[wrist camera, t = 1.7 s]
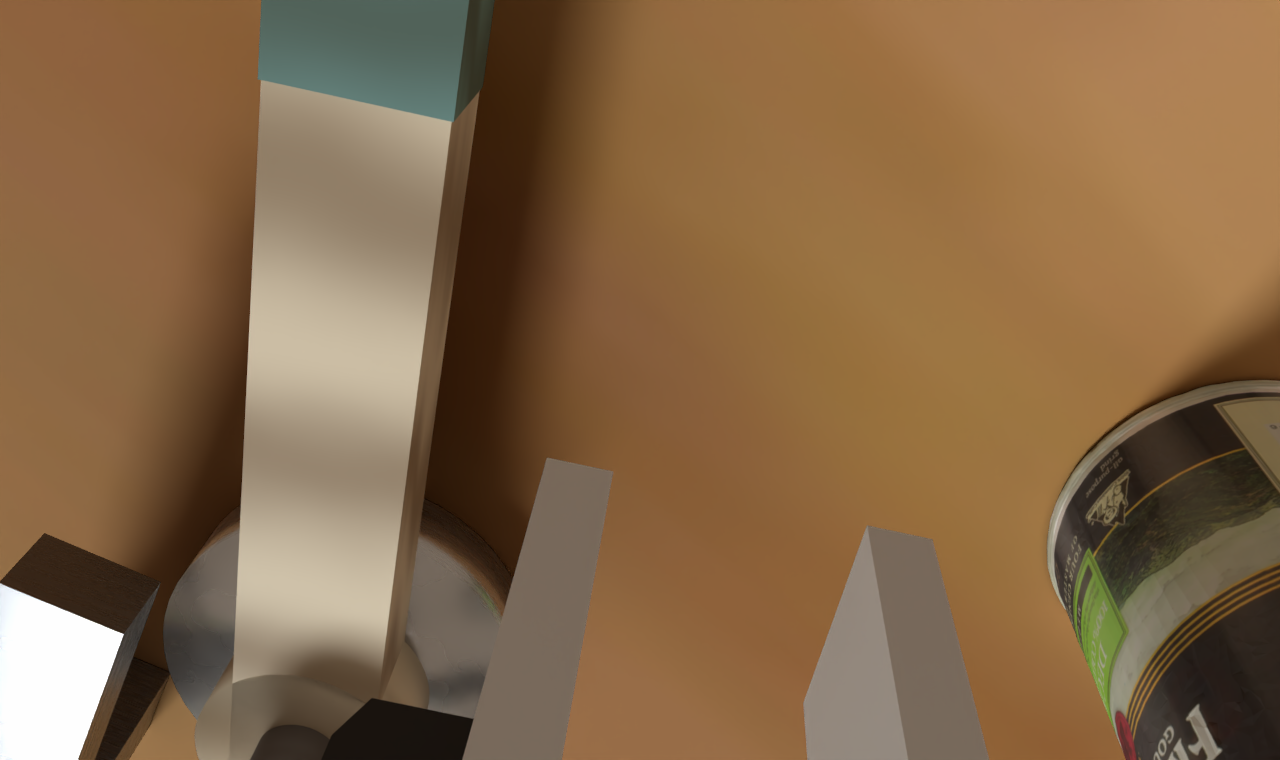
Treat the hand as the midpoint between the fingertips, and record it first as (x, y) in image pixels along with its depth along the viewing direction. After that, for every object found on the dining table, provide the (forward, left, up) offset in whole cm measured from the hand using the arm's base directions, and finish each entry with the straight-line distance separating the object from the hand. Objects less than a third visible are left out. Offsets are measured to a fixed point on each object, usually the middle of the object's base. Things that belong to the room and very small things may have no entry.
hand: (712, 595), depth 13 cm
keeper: (-18, +15, -19) cm, 30 cm away
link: (-9, +8, -16) cm, 20 cm away
